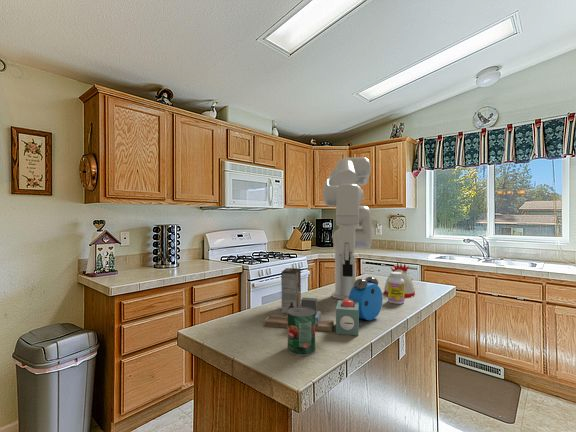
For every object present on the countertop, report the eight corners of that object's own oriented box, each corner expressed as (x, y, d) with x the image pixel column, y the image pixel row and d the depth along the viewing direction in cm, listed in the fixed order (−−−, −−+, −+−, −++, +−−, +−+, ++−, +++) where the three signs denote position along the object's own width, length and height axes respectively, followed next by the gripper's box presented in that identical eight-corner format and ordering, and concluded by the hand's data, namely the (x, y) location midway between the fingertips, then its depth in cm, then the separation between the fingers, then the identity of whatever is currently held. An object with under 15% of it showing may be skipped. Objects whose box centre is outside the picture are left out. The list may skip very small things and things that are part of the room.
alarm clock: (369, 313, 120) (369, 274, 120) (383, 317, 115) (383, 276, 115) (347, 320, 111) (347, 278, 111) (361, 325, 106) (361, 281, 106)
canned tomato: (321, 349, 87) (321, 310, 87) (301, 358, 82) (301, 317, 82) (301, 341, 93) (300, 305, 93) (281, 349, 87) (281, 310, 87)
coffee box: (286, 306, 129) (285, 267, 129) (301, 307, 128) (301, 268, 128) (281, 313, 120) (281, 271, 120) (297, 314, 119) (297, 272, 119)
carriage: (301, 316, 111) (301, 295, 111) (320, 317, 109) (320, 296, 109) (296, 323, 103) (296, 301, 103) (317, 325, 101) (317, 302, 101)
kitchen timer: (415, 298, 140) (415, 265, 140) (384, 296, 145) (384, 264, 145) (413, 291, 154) (413, 261, 154) (384, 289, 158) (384, 260, 158)
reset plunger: (342, 313, 105) (342, 299, 105) (353, 314, 104) (353, 299, 104) (341, 317, 101) (341, 302, 101) (353, 318, 101) (353, 302, 101)
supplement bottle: (388, 303, 132) (388, 273, 132) (387, 299, 138) (387, 271, 138) (405, 304, 130) (405, 274, 130) (403, 300, 137) (403, 271, 137)
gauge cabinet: (338, 323, 108) (338, 300, 108) (358, 324, 107) (358, 301, 107) (335, 334, 98) (335, 309, 98) (358, 336, 97) (358, 310, 97)
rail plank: (270, 319, 113) (270, 315, 113) (333, 324, 107) (333, 319, 107) (264, 325, 106) (264, 321, 106) (331, 331, 101) (331, 326, 101)
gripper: (337, 220, 111) (338, 271, 111) (334, 222, 96) (334, 280, 97) (359, 220, 109) (359, 272, 109) (358, 222, 95) (358, 281, 95)
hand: (347, 275), depth 103 cm, fingers closed
